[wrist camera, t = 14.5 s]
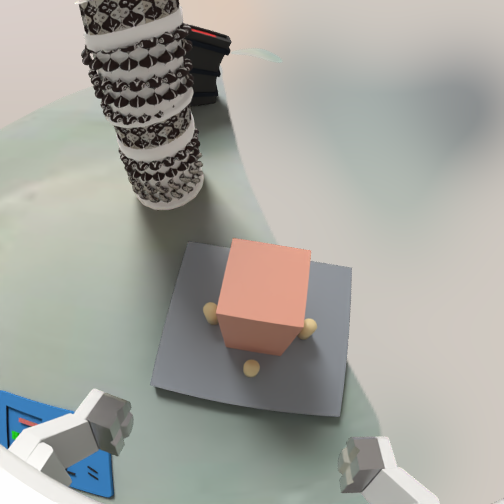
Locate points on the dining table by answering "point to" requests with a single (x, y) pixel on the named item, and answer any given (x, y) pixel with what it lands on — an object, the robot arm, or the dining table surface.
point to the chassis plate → (252, 363)
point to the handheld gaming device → (33, 413)
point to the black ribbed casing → (206, 63)
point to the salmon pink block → (263, 296)
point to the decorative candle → (146, 94)
